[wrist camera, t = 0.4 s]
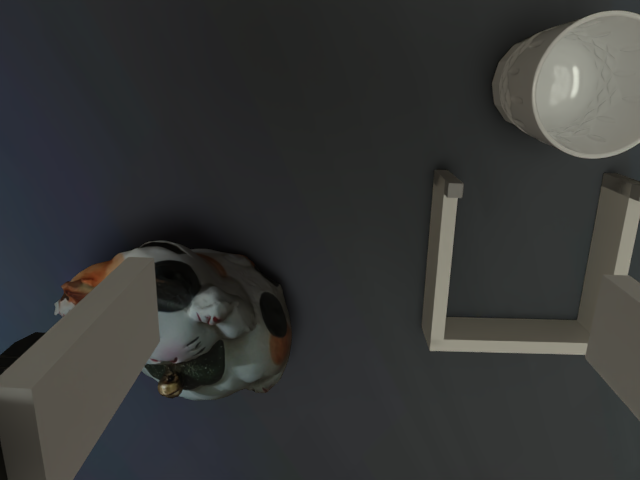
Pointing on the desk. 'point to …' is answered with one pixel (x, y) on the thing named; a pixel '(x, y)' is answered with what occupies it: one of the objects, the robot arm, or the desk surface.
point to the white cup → (576, 85)
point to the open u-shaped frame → (526, 334)
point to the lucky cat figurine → (205, 320)
